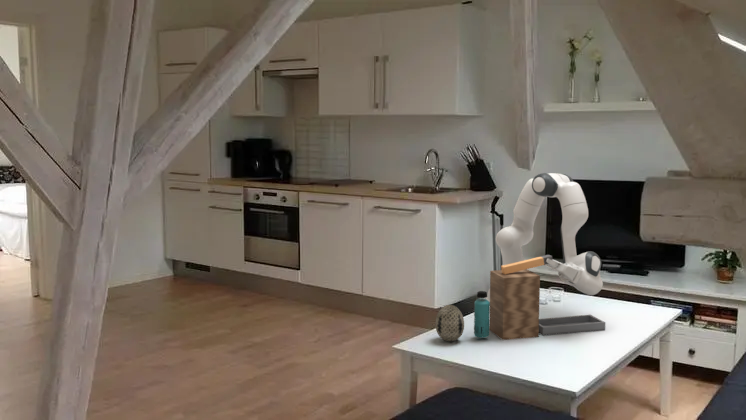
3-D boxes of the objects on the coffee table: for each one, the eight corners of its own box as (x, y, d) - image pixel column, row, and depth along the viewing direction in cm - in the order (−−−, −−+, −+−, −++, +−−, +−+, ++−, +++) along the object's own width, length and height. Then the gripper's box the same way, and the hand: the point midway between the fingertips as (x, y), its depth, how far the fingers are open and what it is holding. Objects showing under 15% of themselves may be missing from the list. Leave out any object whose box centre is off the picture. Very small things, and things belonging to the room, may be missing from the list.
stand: (523, 327, 307) (525, 268, 304) (538, 336, 294) (540, 275, 290) (489, 329, 303) (490, 270, 300) (502, 340, 290) (503, 278, 286)
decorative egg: (429, 340, 290) (429, 304, 288) (449, 334, 298) (449, 299, 296) (450, 347, 281) (450, 310, 279) (470, 341, 289) (470, 305, 287)
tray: (590, 322, 313) (590, 314, 313) (605, 330, 302) (605, 322, 301) (530, 327, 307) (530, 319, 306) (542, 335, 295) (543, 327, 295)
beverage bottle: (489, 336, 295) (489, 289, 292) (490, 341, 288) (490, 293, 285) (473, 336, 295) (473, 289, 293) (473, 341, 289) (474, 293, 286)
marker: (549, 261, 300) (548, 254, 299) (552, 262, 297) (552, 255, 296) (501, 272, 295) (500, 265, 295) (504, 274, 292) (503, 267, 292)
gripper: (560, 261, 311) (536, 247, 307) (585, 271, 291) (559, 256, 288) (553, 274, 311) (529, 260, 307) (577, 285, 291) (551, 270, 288)
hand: (543, 258), depth 297 cm, fingers closed on marker, 3 cm apart
